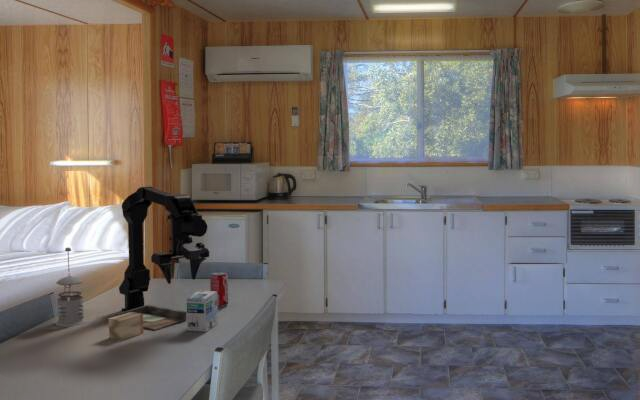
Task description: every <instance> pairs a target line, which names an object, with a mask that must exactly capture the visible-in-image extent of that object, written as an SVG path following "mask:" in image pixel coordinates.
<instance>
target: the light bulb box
mask: <svg viewBox="0 0 640 400" xmlns="http://www.w3.org/2000/svg"><path fill="white" fill-rule="evenodd" d="M185 300H186V317H187V321H186V324H187V331H189V332H200V333H201V332H204V333H205V332H206V333H207V332H209V331H210V330H211V329H212V328H214V327H216V325H218V324H219V319H218V318H219V312H218V310H219V307H218V305H217V291H210V290H197V291H196V292H193V293H192V294H191V295H189V296H187V297H186V299H185Z"/></svg>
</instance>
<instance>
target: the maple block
mask: <svg viewBox="0 0 640 400" xmlns="http://www.w3.org/2000/svg"><path fill="white" fill-rule="evenodd" d="M108 332H109V334H108V336H109V337H108V338H110V339H113V338H114V340H117V339H118V340H119V341H123V340H125V339H129V338H132V337H134V336H138V335H141V334H144V328H143V314H141V313H135V312H129V313H126V314H122V315H119V316H116V315H115V316H112V317H108ZM118 340H117V341H118Z"/></svg>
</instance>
